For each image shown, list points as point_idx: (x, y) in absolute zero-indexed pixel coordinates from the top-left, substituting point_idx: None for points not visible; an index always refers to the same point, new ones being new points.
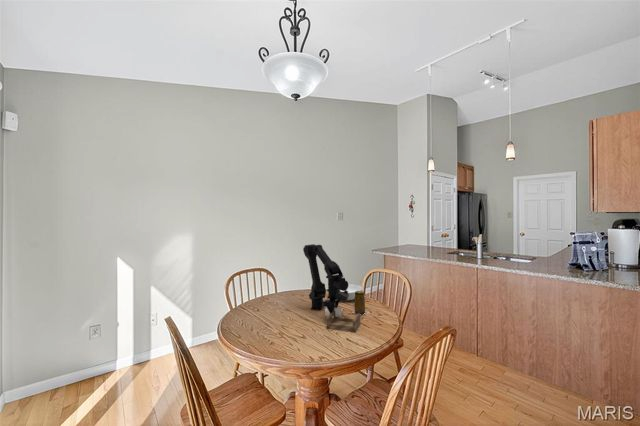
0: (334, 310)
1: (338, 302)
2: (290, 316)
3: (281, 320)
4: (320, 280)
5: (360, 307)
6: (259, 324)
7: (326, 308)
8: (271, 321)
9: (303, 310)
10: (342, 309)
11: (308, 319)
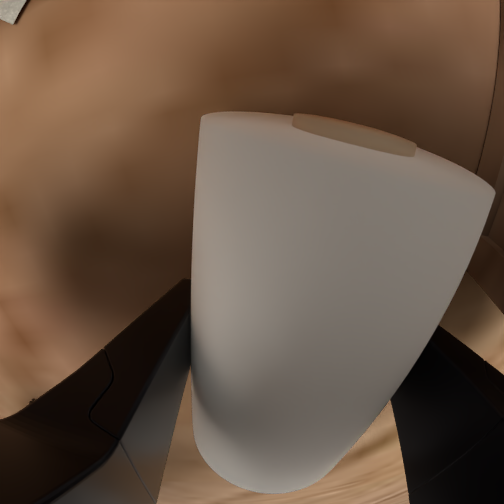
0: (414, 362)
1: (85, 494)
2: (305, 495)
3: (363, 493)
4: None
5: None
6: (392, 501)
7: (322, 475)
8: (369, 500)
9: (179, 483)
10: (284, 137)
11: (369, 444)
